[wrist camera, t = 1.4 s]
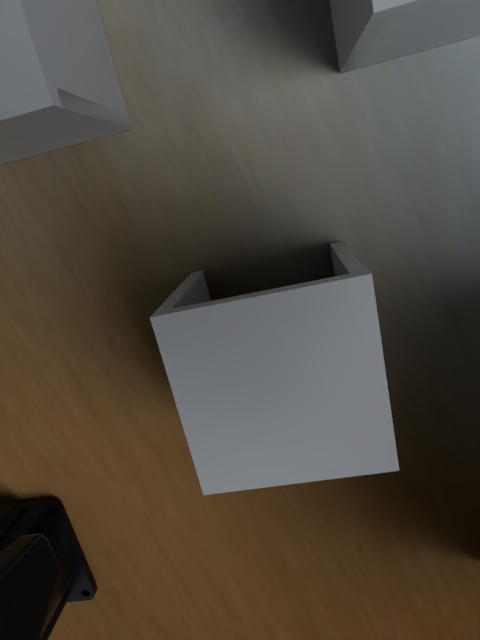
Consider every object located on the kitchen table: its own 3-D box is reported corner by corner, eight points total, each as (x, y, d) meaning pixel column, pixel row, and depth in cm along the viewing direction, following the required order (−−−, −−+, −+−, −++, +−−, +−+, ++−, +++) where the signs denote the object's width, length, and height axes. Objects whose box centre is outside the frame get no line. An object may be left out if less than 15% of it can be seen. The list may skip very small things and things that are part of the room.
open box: (364, 381, 19) (399, 470, 13) (226, 403, 20) (203, 495, 14) (342, 240, 17) (372, 273, 11) (191, 272, 18) (149, 317, 12)
